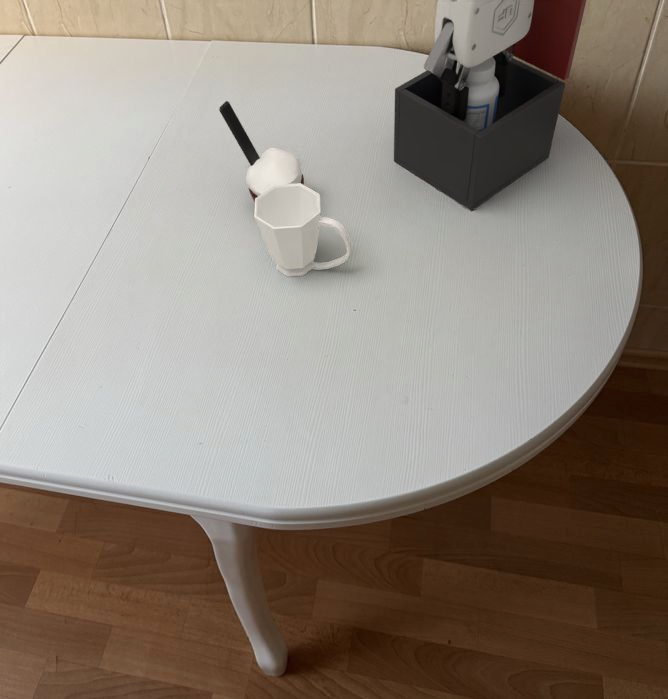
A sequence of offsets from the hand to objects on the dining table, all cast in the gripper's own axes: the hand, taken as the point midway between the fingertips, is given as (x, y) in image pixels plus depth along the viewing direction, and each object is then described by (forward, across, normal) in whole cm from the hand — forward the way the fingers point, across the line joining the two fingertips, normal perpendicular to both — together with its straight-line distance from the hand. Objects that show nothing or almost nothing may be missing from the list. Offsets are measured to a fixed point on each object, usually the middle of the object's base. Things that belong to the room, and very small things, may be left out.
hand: (472, 102), depth 78 cm
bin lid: (-9, +7, 0) cm, 12 cm away
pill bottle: (+5, 0, 0) cm, 5 cm away
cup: (+8, -24, 0) cm, 26 cm away
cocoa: (+8, -21, +10) cm, 25 cm away
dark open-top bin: (+8, +1, 0) cm, 8 cm away
